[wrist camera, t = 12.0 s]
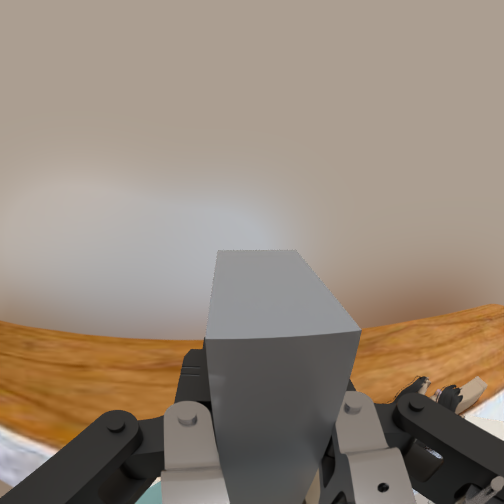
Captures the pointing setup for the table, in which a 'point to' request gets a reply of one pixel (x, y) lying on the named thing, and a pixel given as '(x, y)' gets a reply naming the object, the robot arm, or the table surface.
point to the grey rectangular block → (274, 372)
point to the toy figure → (448, 395)
